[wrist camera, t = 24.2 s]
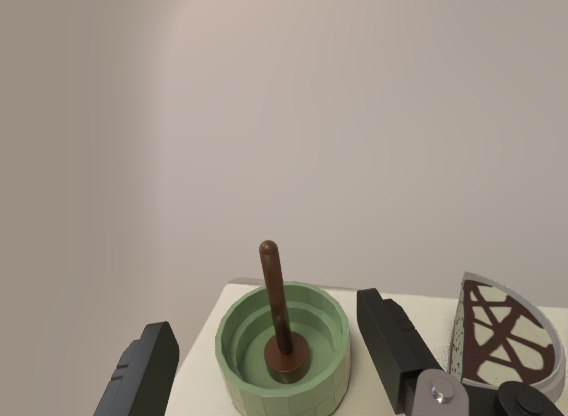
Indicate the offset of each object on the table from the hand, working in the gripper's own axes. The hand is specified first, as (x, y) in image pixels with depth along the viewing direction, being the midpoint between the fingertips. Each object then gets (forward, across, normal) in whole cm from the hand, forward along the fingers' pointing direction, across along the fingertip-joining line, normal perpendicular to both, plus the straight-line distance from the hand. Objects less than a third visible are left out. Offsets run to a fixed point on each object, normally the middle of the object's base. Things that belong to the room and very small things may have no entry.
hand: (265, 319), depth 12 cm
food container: (+4, -17, +19) cm, 26 cm away
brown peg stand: (+11, 0, +19) cm, 22 cm away
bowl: (+11, 0, +19) cm, 22 cm away
